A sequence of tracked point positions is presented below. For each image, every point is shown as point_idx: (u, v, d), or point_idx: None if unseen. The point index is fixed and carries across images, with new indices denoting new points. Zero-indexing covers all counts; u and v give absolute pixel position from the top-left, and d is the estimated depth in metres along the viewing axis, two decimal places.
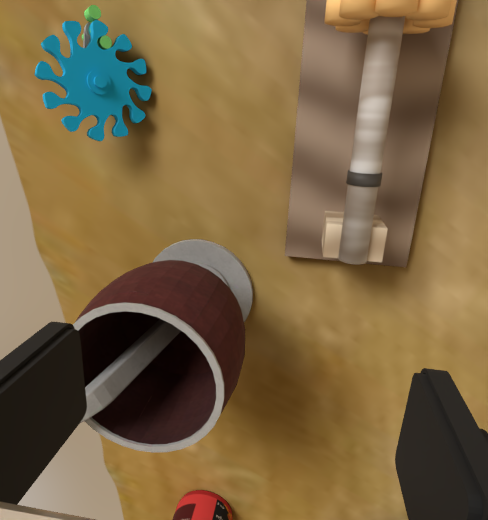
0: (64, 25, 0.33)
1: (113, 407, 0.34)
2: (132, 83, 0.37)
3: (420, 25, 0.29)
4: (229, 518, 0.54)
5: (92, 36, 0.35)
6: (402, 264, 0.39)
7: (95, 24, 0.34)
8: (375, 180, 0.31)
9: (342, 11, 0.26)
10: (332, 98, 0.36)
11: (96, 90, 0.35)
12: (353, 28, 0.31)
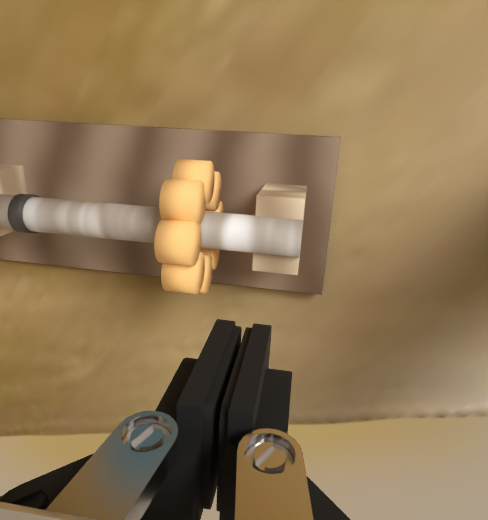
0: None
1: None
2: None
3: None
4: None
5: None
6: None
7: None
8: (18, 228, 0.27)
9: (163, 183, 0.23)
10: (140, 167, 0.31)
11: None
12: None
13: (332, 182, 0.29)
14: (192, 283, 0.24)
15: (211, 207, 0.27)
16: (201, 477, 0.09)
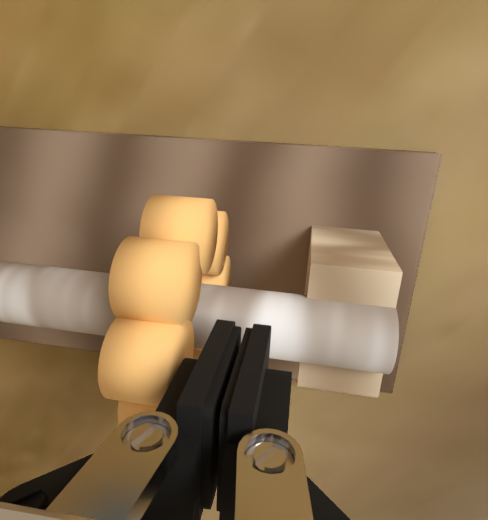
0: None
1: None
2: None
3: None
4: None
5: None
6: None
7: None
8: None
9: (118, 249, 0.11)
10: (111, 198, 0.20)
11: None
12: None
13: (422, 226, 0.18)
14: None
15: (212, 273, 0.16)
16: (201, 477, 0.09)
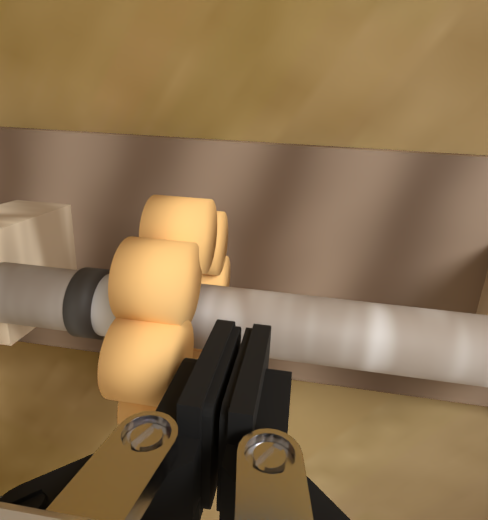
0: None
1: None
2: None
3: None
4: None
5: None
6: None
7: None
8: (81, 334, 0.15)
9: (118, 250, 0.11)
10: (271, 211, 0.19)
11: None
12: None
13: None
14: None
15: (211, 273, 0.16)
16: (201, 477, 0.09)
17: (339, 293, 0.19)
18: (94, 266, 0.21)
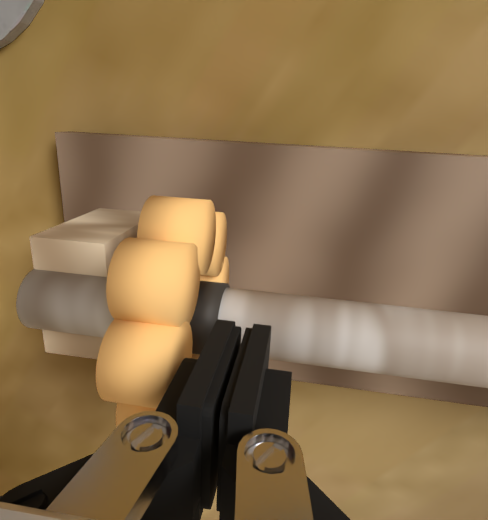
0: None
1: None
2: None
3: None
4: None
5: None
6: None
7: None
8: None
9: (116, 251, 0.11)
10: (373, 220, 0.18)
11: None
12: None
13: None
14: None
15: (210, 274, 0.16)
16: (201, 477, 0.09)
17: (439, 304, 0.19)
18: None
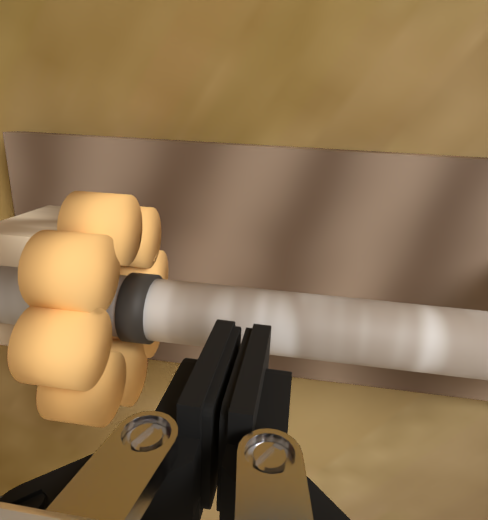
0: None
1: None
2: None
3: None
4: None
5: None
6: None
7: None
8: (131, 339, 0.15)
9: (29, 241, 0.12)
10: (306, 215, 0.19)
11: None
12: None
13: None
14: (92, 416, 0.13)
15: (140, 266, 0.17)
16: (201, 477, 0.09)
17: (372, 294, 0.20)
18: None
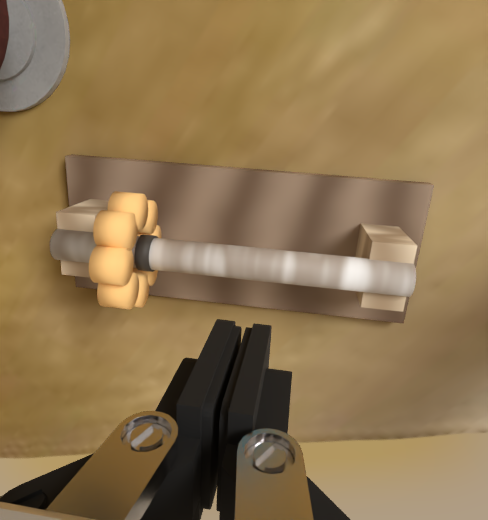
0: None
1: None
2: None
3: None
4: None
5: None
6: (78, 282, 0.37)
7: None
8: (142, 267, 0.29)
9: (97, 215, 0.26)
10: (240, 206, 0.33)
11: None
12: None
13: (422, 224, 0.32)
14: (124, 300, 0.27)
15: (146, 232, 0.31)
16: (201, 477, 0.09)
17: None
18: None
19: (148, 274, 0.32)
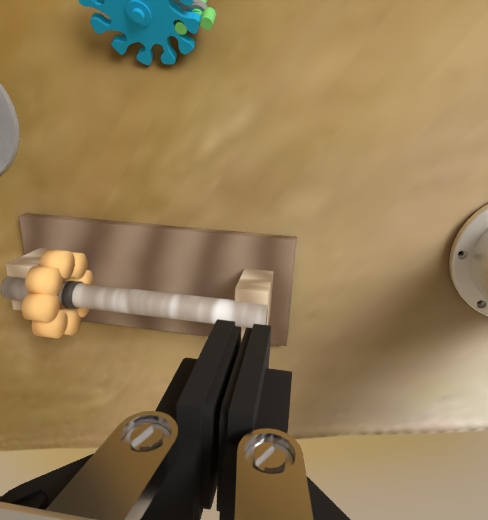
0: None
1: None
2: (148, 47, 0.35)
3: None
4: None
5: (183, 15, 0.32)
6: None
7: (194, 21, 0.32)
8: (68, 306, 0.38)
9: (29, 270, 0.36)
10: (152, 255, 0.42)
11: (128, 8, 0.32)
12: None
13: (291, 269, 0.40)
14: (51, 332, 0.37)
15: (75, 277, 0.40)
16: (201, 477, 0.09)
17: (185, 290, 0.43)
18: None
19: (78, 309, 0.41)
